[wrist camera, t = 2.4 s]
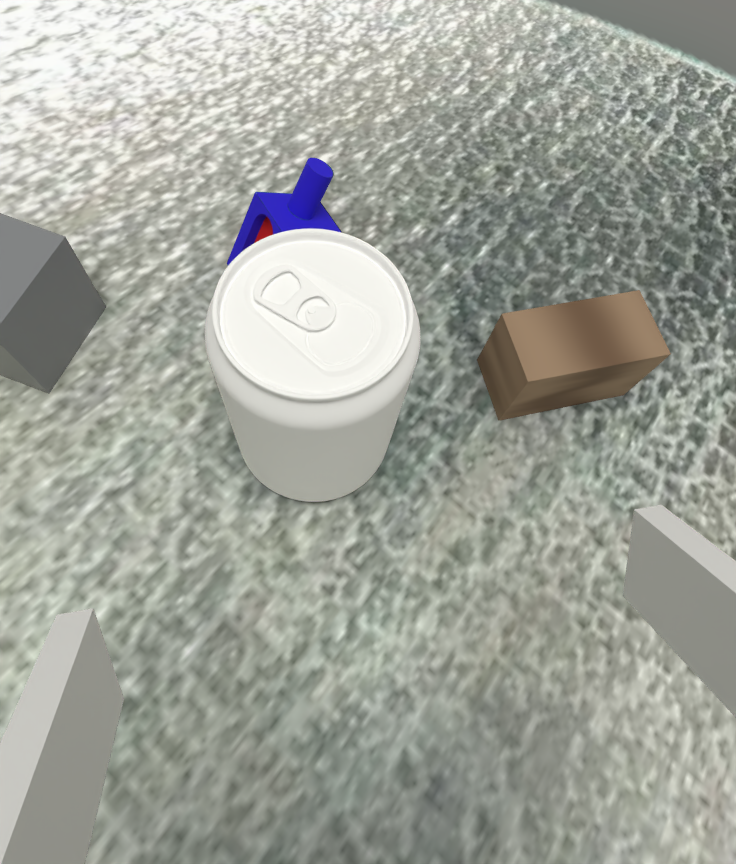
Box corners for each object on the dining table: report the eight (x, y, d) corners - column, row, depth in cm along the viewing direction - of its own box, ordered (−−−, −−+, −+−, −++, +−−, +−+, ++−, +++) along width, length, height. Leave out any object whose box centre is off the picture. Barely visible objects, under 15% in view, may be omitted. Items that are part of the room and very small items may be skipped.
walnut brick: (498, 421, 33) (528, 381, 28) (476, 361, 34) (501, 313, 29) (622, 395, 34) (670, 354, 29) (597, 338, 35) (639, 290, 31)
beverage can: (325, 536, 29) (333, 460, 18) (207, 443, 31) (146, 319, 19) (416, 423, 32) (470, 297, 21) (304, 342, 33) (299, 183, 22)
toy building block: (309, 301, 36) (369, 198, 31) (253, 307, 33) (307, 194, 28) (283, 261, 37) (335, 153, 32) (226, 263, 34) (273, 145, 29)
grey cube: (-50, 356, 31) (-129, 290, 26) (13, 273, 33) (-47, 196, 28) (49, 394, 31) (-9, 335, 25) (106, 307, 33) (65, 236, 28)
